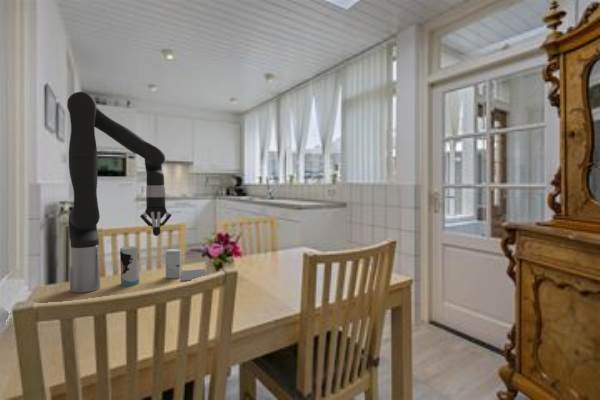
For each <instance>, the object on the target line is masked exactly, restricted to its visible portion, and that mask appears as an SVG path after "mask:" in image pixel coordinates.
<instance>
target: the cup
mask: <svg viewBox="0 0 600 400" xmlns="http://www.w3.org/2000/svg"><path fill="white" fill-rule="evenodd" d="M119 255H120V256H119V257H120V262H119V263H120V285H121V286H123V287H131V286H133V287H134V286H136V285H138V284H140V262H139V261H140V259H139V258H140V257H139V255H140V254H139V246H135V245H134V246H133V245H132V246H122V247H120V248H119Z"/></svg>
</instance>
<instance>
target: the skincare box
mask: <svg viewBox="0 0 600 400" xmlns="http://www.w3.org/2000/svg"><path fill="white" fill-rule="evenodd" d="M182 252H183V250H182V249H179V248H178V249H175V248H174V249H171V248H169V249H167V250H166V251H165V279H180V278H181V277H182Z"/></svg>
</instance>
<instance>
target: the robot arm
mask: <svg viewBox="0 0 600 400" xmlns="http://www.w3.org/2000/svg"><path fill="white" fill-rule="evenodd" d="M66 106H67V111H68V112H69V119H70V138H69V144H68V146H69V147H68V170H69V177H70V181H71V185H72V189H73V205H72V206H73V208H71V210H70V211H69V214H68V233H69V234H68V235H69V236H68V237H69V241H70V260H71V261H70V263H71V265H70V267H69V290H70V291H69V292H70V293H78V294H80V293H81V294H82V293H88V292H93V291H96V290H98V289H100V288H101V275H100V274H101V270H100V268H101V267H100V266H101V265H100V239H99V236H98V229H97V227H98V223H99V221H100V217H101V215H100V209H99V203H98V195H97V193H98V192H97V189H98V172H99V171H98V169H99V168H98V164H99V163H98V162H99V161H98V148H97V140H96V135H95V133H96V131H95V128H96V129H97V130H99V131H101V132H102V133H104V134H106V135H107V136H108V137H109V138H111V139H112V140H114V141H115V142H117V143H118V144H119V145H121V146H122V147H124V148H125V149H127V150H128V151H130V152H131V153H133V154H135V155H138V156H140V157H141V158H142V159H144V166H145V172H146V179H145V180H146V188H145V197H146V200H145V202H146V204H145V205H146V209H145V211H144V212H143V213H142V214H140V216H139V217H140V218H141V219H142V220H143V221H144V222H145V224H146V225H147V226H148V227H151V228H152V234H153V235H154V236H155V237H159V235H160V234H161V227H163V226H165V225H166V223H167V222H168V221H169V220H170V218H171V217H172V216H173V215H172V213H169V212H168V211H167V208H166V189H165V174H164V173H163V167H162V166H163V164H164V162H165V161H166V155H165V154H164V152H163V151H162V150H161V149H160V148H159V147H157V146H155V145H153V144H151V143H150V142H148V141H146V140H145V139H143V138H142V137H141V136H139V135H138V134H137V133H136V132H134V131H132V130H131V129H129V128H127V127H126V126H124V125H122V124H121V123H119V122H116V121H115V120H113V119H112V118H110V117H109V116H107V115H106V114H105V113H104V112H103V111H101V110H100V109H99V107H97V102H96V100H95V98H93V96H91V95H90V94H88V93H87V92H84V91H77V92H74V93H73V94H71V95H70V96H69V97H68V99H67V101H66ZM148 217H149V218H148ZM164 217H165V218H164ZM163 218H164V219H163ZM149 219H151V221H150V220H149ZM162 219H163V221H161V220H162Z"/></svg>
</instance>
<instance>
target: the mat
mask: <svg viewBox="0 0 600 400" xmlns="http://www.w3.org/2000/svg"><path fill="white" fill-rule="evenodd" d="M205 269H206V268H201V269H200V268H199V269H190V270H189V269H188V270H187V269H186V270H181V276H180V278H181V279H180V281H181V282H190V281H189V280H192V279H195V278H198V277H201V276H205V275H207V274H206V272H205Z"/></svg>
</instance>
